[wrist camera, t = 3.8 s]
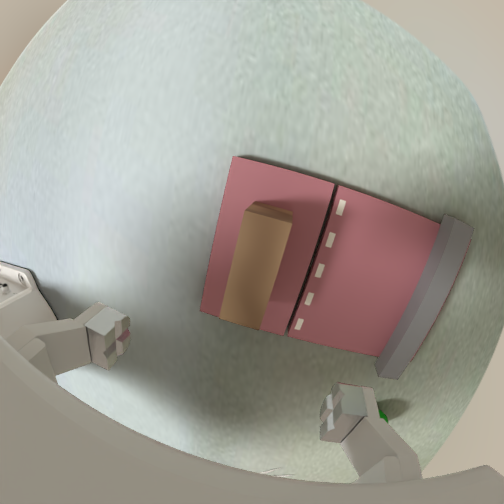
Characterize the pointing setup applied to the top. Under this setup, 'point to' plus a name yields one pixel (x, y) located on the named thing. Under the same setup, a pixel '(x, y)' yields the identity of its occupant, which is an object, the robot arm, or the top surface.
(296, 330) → the ticket
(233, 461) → the top surface
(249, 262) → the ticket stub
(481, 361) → the top surface
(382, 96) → the top surface
